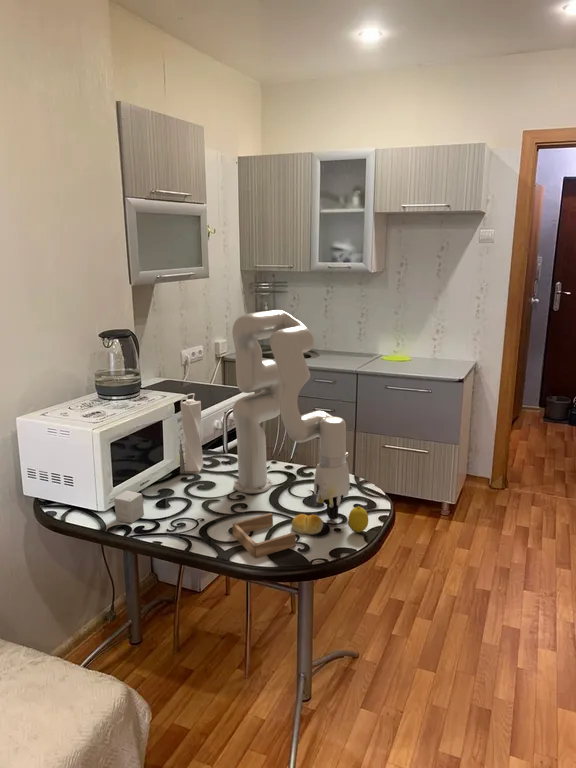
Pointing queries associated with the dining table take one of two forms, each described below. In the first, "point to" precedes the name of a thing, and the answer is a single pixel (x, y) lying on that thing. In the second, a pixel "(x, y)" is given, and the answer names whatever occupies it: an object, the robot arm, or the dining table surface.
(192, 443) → the skyscraper
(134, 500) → the product box
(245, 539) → the bay
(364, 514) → the lemon
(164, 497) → the dining table surface
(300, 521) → the bread roll
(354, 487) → the dining table surface
